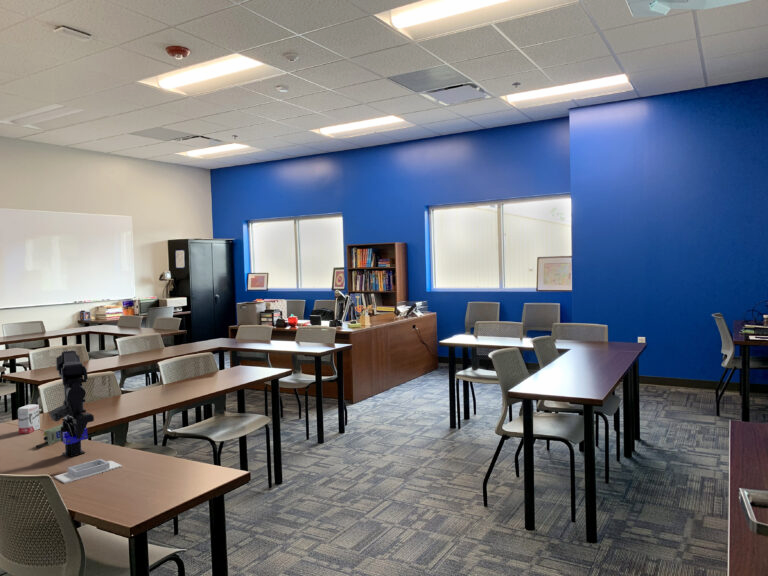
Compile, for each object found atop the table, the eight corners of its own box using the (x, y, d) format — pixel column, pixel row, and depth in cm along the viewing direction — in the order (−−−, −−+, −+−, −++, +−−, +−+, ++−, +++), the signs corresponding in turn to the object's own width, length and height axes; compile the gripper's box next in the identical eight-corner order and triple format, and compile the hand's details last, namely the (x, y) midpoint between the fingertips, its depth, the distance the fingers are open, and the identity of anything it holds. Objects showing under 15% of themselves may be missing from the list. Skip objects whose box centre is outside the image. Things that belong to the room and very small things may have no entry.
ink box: (28, 433, 259) (27, 408, 259) (18, 434, 259) (17, 408, 259) (40, 428, 268) (39, 403, 268) (30, 428, 268) (29, 404, 268)
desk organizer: (54, 477, 203) (54, 470, 203) (111, 462, 218) (110, 455, 218) (64, 483, 197) (64, 476, 197) (121, 466, 212) (121, 460, 212)
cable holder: (66, 444, 209) (65, 434, 209) (62, 442, 212) (62, 432, 212) (89, 439, 215) (88, 429, 215) (85, 437, 217) (85, 427, 217)
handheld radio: (82, 432, 260) (40, 450, 235) (76, 432, 261) (33, 450, 236) (81, 418, 260) (39, 434, 235) (74, 418, 260) (32, 434, 236)
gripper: (41, 398, 213) (43, 439, 213) (61, 405, 201) (63, 448, 201) (73, 392, 221) (75, 431, 222) (93, 398, 209) (95, 440, 210)
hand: (76, 438), depth 213 cm, fingers closed on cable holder, 3 cm apart
